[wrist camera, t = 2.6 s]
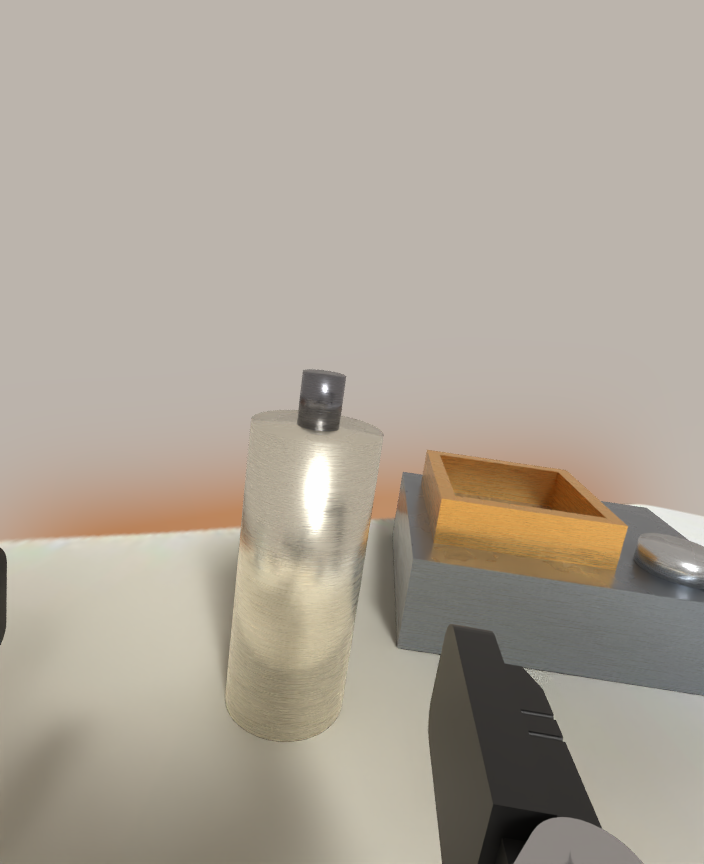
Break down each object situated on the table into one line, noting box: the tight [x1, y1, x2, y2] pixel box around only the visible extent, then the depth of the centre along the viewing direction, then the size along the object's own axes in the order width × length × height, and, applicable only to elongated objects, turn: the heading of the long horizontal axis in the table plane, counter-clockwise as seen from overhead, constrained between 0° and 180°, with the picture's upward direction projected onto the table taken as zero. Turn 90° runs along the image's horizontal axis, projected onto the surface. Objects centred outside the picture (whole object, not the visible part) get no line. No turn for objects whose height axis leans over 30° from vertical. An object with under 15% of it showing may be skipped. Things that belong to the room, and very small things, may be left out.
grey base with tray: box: [393, 450, 704, 695], centre depth 33 cm, size 18×14×8 cm
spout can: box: [225, 370, 384, 742], centre depth 22 cm, size 5×5×14 cm
